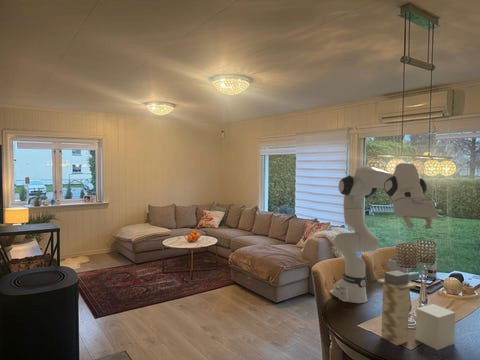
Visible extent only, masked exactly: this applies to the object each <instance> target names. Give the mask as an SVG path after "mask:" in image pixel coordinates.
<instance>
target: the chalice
mask: <svg viewBox="0 0 480 360" xmlns="http://www.w3.org/2000/svg"><path fill="white" fill-rule="evenodd" d="M396 258H397V257H389V259H388V261H387V267H388V269H389V270H390V271H395V270H398V271H401V272H403V270H402V269H401V268H399V267H398V266H397V264H396Z"/></svg>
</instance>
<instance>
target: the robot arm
mask: <svg viewBox="0 0 480 360" xmlns="http://www.w3.org/2000/svg"><path fill="white" fill-rule="evenodd" d="M418 171H419V170H418V168H417V167H416V165H415V164H414V163H412V162H401V163H398V164H396V165H395V168H394V172H393V173H392V172H388V171H385V170H383V169H379V168H378V167H375V166H371V165H365V166H364V165H362V166H361V165H360V166H359V167H358V168H357V169H356V170H355V173H354V175H353V176H351V175H350V174H349V175H347V176H345V177H343V178H340V181H339V182H338V190H339V193H340V194H341V195H344V197H343V216H344V218H343V220H344V223H345V224H346V225H347V226H348V227H350V228H352V230H353V231H354V232H341V233H338V234H336V236H335V237H334V239H333V244H334V247H335V249H337V251H338V252H340V254H341V255H342V256H343V258H344V262H345V264H344V265H345V271H344V273H342V274H341V276H343V277H342V278H341V279H340V280H338V281H336V282H335V283H334V287H333V288H331V289H330V291H329V293H330V294H331V295H333V296H334V297H336V298H337V297H338V298H337V299H339V300H340V301H342V302H344V303H346V302H348V303H353V304H364V303H367V302H368V298H367V288H366V282H367V275H366V266H367V265H366V262H365V260H364V259H362V258H361V257H358V255H357V253H359V252H360V253H369V252H372V251H373V252H374V251H377V249H378V248H379V245H380V244H379V238H378V237H377V235H376V234H374V233H373V232H372V231H371V230H370V229H369V227H368V226H367V223H366V220H365V215H364V206H363V198H365V199H368V198H369V197H371V196H373V195H375V194H376V193H377V191H378V189H381V188H382V189H384V191H385V194H386V195H387V196H388V197H390V198H391V200H392V202H393V203H392V207H393V212H394V215H395V216H396V217H397V218H403V221H404V222H405V223H406V224H407V228H409V229H413V228H414V223H413V222H412V221H411V220H410V219H416V220H418V219H420V220H425V222H426V223H425V224H424V227H425V229H426V230H431V229H432V222H433V220H435V219H437V218H438V216H439V214H438V211H437V207H436V206H435V204H434V202H433V201H432V200H431V199H430V198H425V194H426V192H427V187H428V186H427V183H426V180H424V179H423V178H422V176H420V174H419V172H418Z"/></svg>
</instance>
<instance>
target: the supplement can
mask: <svg viewBox="0 0 480 360" xmlns="http://www.w3.org/2000/svg"><path fill="white" fill-rule="evenodd" d="M437 259H438V258H437V257H436V262H435V264H434V265H431V266H428V268H427V269H428V277H427V278H431V277H432V278H434V279H435V278H436V277H437V267H438V266H437V265H438V264H437V263H438V260H437ZM432 278H431V279H432Z"/></svg>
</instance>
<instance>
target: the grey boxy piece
mask: <svg viewBox="0 0 480 360" xmlns="http://www.w3.org/2000/svg"><path fill="white" fill-rule="evenodd" d="M419 275H420V273H419V272H418V271H415V272H409V273H404V272H401V271H398V270H395V271H392V270H390V271H385V272H384V278H385V279H384V281H385V282H388V283H391V284H393V285H401V284H406V283H408V282H409V281H415V280H419V279H420V276H419Z"/></svg>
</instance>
